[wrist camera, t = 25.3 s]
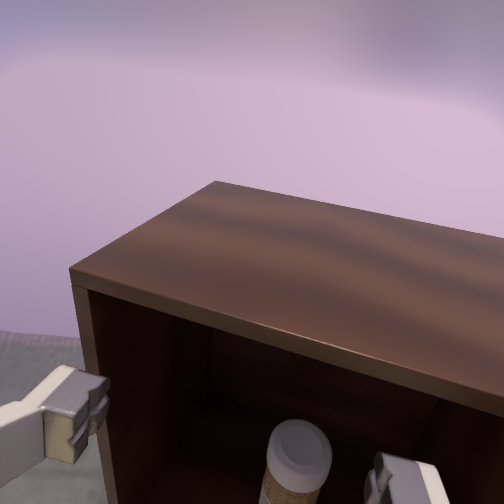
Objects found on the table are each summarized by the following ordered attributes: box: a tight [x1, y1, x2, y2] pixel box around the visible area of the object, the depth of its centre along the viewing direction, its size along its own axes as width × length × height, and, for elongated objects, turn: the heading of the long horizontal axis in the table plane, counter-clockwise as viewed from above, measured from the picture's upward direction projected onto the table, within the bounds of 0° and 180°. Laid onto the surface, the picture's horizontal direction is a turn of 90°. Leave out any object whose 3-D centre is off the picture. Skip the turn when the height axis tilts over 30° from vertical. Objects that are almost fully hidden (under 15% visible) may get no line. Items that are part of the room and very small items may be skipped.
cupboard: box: [69, 181, 504, 504], centre depth 28 cm, size 18×26×28 cm
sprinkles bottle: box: [259, 419, 332, 504], centre depth 28 cm, size 5×5×14 cm
